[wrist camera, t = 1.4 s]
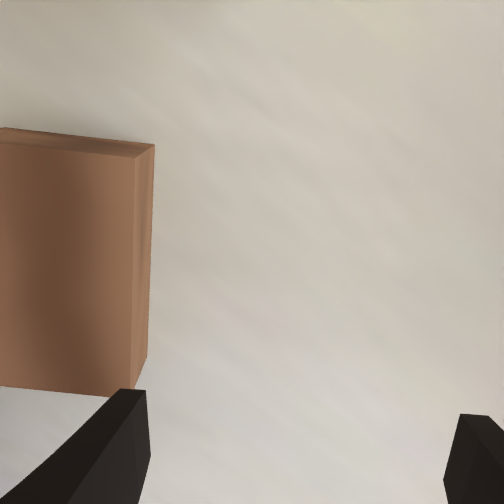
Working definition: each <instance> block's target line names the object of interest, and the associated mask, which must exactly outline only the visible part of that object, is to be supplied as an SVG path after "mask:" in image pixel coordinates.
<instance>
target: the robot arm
mask: <svg viewBox="0 0 504 504" xmlns="http://www.w3.org/2000/svg"><path fill="white" fill-rule="evenodd" d="M150 457H151V452H150V439H149V426H148V414H147V401H146V390H136V389H122V388H120V389H119V390H118V391H117V392H115V393H114V394H113V395H112V396H111V397H110V398H109V399H108V400H107V401H106V402H105V403H104V404H103V405H102V406H101V407H100V408H99V409H98V411H97V412H96V413H95V414H94V415H93V416H92V417H91V418H90V419H89V420H87V421H86V422H85V423H84V424H83V425H82V426H81V427H80V428H79V429H78V430H77V431H76V432H75V433H74V434H73V435H72V436H71V437H70V438H69V439H68V440H67V441H66V442H65V443H64V444H63V445H61V446H60V447H59V448H58V449H57V450H56V451H55V452H54V453H53V454H52V455H51V456H50V457H49V458H48V459H46V460H45V461H44V462H43V463H42V464H41V465H40V466H38V467H37V468H36V469H35V470H34V471H33V472H31V473H30V474H29V475H28V476H27V477H26V478H25V479H23V480H22V481H21V482H20V483H19V484H18V485H16V486H15V487H14V488H13V489H12V490H10V491H9V492H8V493H7V494H6V495H4V496H3V497H2V498H1V499H0V504H138V502H139V499H140V495H141V492H142V488H143V484H144V481H145V477H146V473H147V469H148V465H149V461H150ZM443 482H444V486H445V491H446V495H447V500H448V504H504V431H503V430H502V429H501V428H500V427H499V426H498V425H497V424H496V423H495V422H494V421H493V420H492V419H491V418H490V417H489V416H485V415H471V414H460V417H459V420H458V424H457V428H456V432H455V436H454V440H453V444H452V447H451V451H450V455H449V459H448V463H447V467H446V471H445V475H444V478H443Z"/></svg>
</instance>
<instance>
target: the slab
mask: <svg viewBox="0 0 504 504" xmlns="http://www.w3.org/2000/svg"><path fill="white" fill-rule="evenodd" d="M154 153H155V145H154V144H145V143H136V142H128V141H119V140H110V139H101V138H93V137H84V136H75V135H67V134H58V133H49V132H40V131H32V130H23V129H14V128H0V386H5V387H15V388H25V389H35V390H44V391H54V392H64V393H74V394H83V395H93V396H103V397H111V396H112V395H113V394H114V393H115V392H117V391H118V390H119V389H120V388H122V389H134V388H135V385H136V383H137V380H138V378H139V375H140V373H141V370H142V368H143V365H144V363H145V360H146V358H147V344H148V317H149V289H150V262H151V235H152V208H153V180H154Z"/></svg>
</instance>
